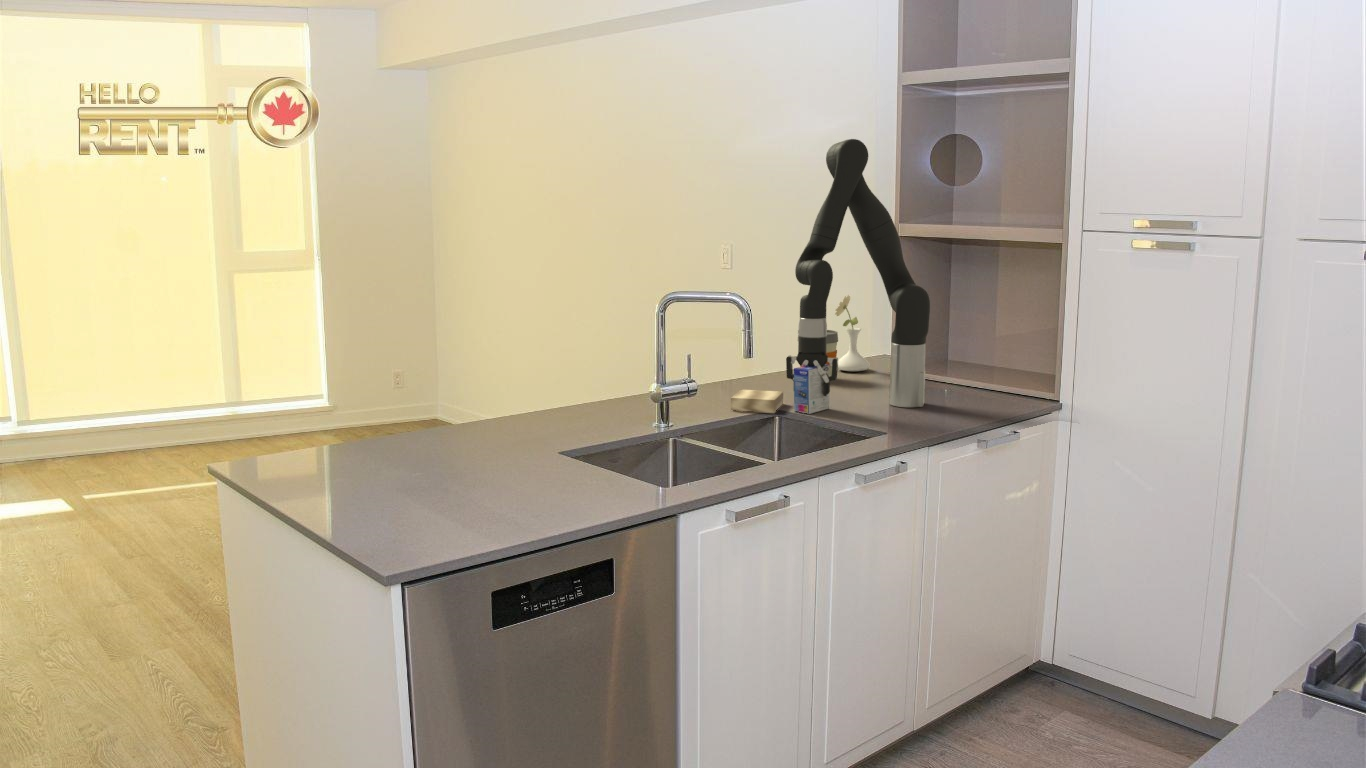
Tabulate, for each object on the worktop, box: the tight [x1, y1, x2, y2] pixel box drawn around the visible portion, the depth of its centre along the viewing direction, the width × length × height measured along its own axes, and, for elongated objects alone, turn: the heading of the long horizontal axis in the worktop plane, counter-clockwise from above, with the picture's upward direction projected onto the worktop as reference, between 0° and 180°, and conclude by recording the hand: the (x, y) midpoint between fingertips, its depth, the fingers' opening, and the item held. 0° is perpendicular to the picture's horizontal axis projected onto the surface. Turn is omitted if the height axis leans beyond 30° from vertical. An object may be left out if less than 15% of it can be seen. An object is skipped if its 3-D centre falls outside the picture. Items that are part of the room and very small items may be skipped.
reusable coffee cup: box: [826, 329, 839, 377], centre depth 327 cm, size 13×13×15 cm
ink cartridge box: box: [793, 364, 830, 415], centre depth 283 cm, size 10×6×14 cm, turn 138°
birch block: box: [730, 389, 784, 414], centre depth 288 cm, size 12×12×4 cm
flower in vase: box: [834, 294, 871, 372], centre depth 341 cm, size 13×11×25 cm
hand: (811, 394), depth 283 cm, fingers closed on ink cartridge box, 7 cm apart
